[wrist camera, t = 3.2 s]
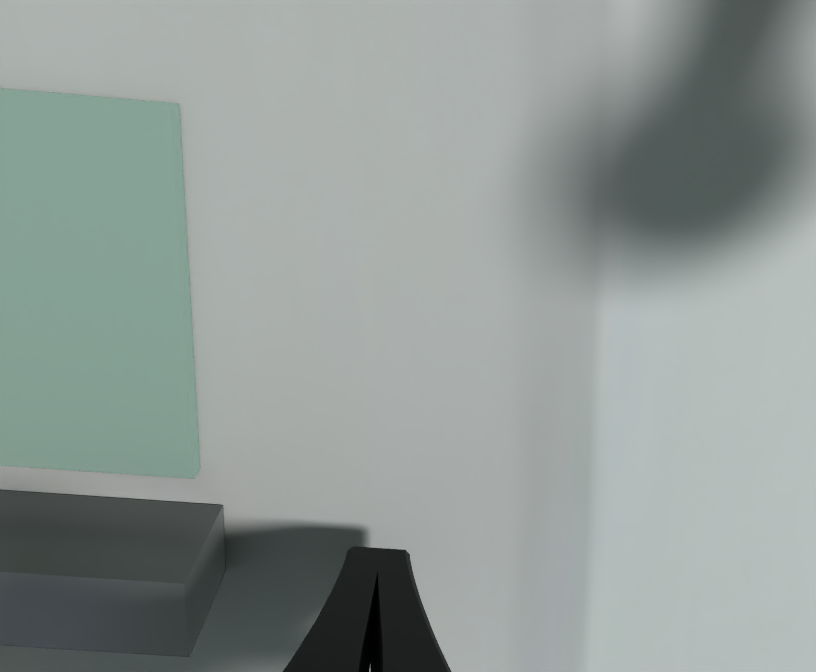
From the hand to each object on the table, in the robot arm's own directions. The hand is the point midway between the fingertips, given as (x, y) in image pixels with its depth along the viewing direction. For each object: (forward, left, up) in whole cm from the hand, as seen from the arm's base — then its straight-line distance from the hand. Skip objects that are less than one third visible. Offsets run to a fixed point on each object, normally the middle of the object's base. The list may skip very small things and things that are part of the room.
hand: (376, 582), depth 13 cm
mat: (+6, +8, -1) cm, 10 cm away
